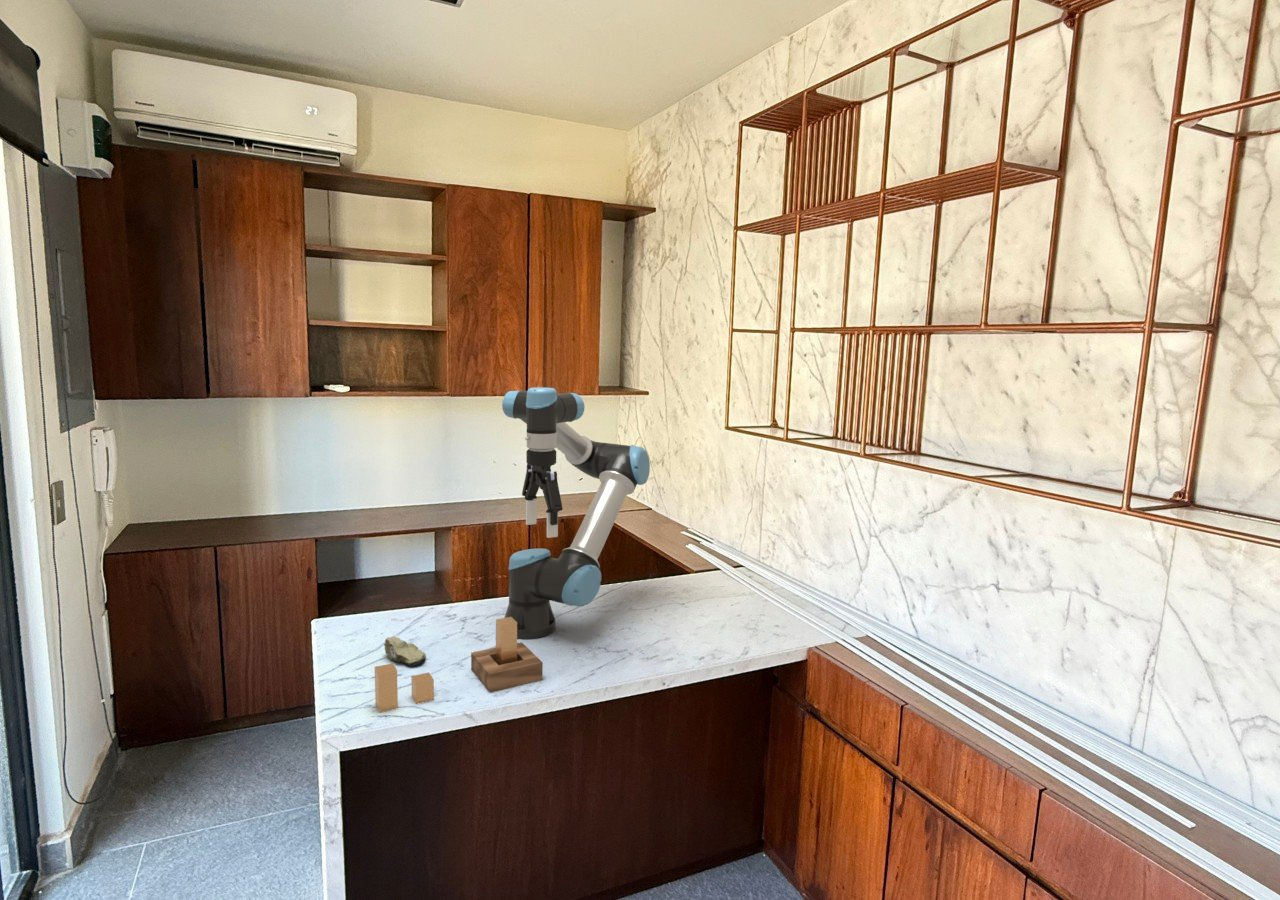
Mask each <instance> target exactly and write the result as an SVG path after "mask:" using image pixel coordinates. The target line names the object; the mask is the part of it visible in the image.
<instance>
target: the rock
mask: <svg viewBox="0 0 1280 900" xmlns="http://www.w3.org/2000/svg"><path fill="white" fill-rule="evenodd" d="M384 650H385V654H386V655H387V659H386V660H389V661H390V662H395V663H397V664H406V665H408V666H409V667H413V666H417V665H419V664H422V663H423V662H425V659H426V658H427V654H426V653H425V652H424V651H422V650H420V649H419V647H418V646H417V645H415V644H414V643H413V642H412V643H410V642H409V643H408V642H407V641H406V640H403V639H401V638H400V637H396V636H391V637H386V638H385V641H384Z"/></svg>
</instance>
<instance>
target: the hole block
mask: <svg viewBox="0 0 1280 900" xmlns="http://www.w3.org/2000/svg"><path fill="white" fill-rule="evenodd" d="M470 656H471V657H470V658H471V659H470V663H471V665H470V667H471V668H470V669H471V671H472V673H473V674H474V675H475V676H476V677H477V678H478V680H479V681H480V682H481V684H482V685H483V686H484V687H485V689H486V690H487V691H488V693H493V692H497V691H500V690H506V689H509V688H514V687H518V686H523V685H527V684H530V683H534V682H538V681H543V669H544V668H543V661H542V660H541V659H540V658H539V657H538V656H537V655H536V654H535V653H533V652H532V650H531V649H529V647H527V646H526V645H525V644H524V643H523V642H522V641H520V642H517V661H516V662H512V663H507V664H503V665H498V664H497V663H496V647H492V648H487V649H482V650H476V651H473V652H470Z"/></svg>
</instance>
